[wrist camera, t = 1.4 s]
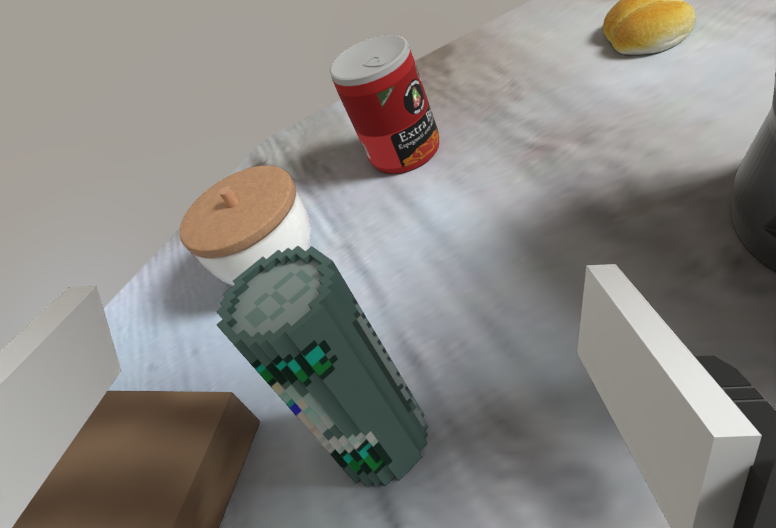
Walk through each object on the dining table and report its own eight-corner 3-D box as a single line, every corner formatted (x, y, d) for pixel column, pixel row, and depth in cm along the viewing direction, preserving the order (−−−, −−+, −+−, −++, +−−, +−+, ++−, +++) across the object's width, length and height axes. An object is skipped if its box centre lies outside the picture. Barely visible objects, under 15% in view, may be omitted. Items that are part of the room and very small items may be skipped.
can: (322, 444, 40) (200, 306, 30) (387, 383, 41) (292, 232, 31) (374, 505, 35) (253, 367, 25) (445, 433, 37) (356, 277, 27)
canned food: (416, 180, 57) (377, 80, 49) (356, 171, 62) (312, 78, 54) (456, 132, 60) (424, 32, 53) (396, 127, 65) (359, 34, 58)
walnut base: (101, 415, 49) (68, 390, 46) (260, 421, 43) (232, 392, 40) (-26, 632, 39) (-78, 616, 36) (158, 682, 33) (111, 666, 30)
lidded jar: (347, 228, 55) (304, 148, 49) (292, 317, 49) (235, 239, 43) (263, 223, 61) (215, 151, 55) (204, 303, 55) (143, 232, 49)
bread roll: (624, 68, 58) (621, 30, 55) (596, 32, 64) (592, -3, 62) (712, 38, 56) (713, -2, 54) (674, 4, 63) (673, -33, 60)
